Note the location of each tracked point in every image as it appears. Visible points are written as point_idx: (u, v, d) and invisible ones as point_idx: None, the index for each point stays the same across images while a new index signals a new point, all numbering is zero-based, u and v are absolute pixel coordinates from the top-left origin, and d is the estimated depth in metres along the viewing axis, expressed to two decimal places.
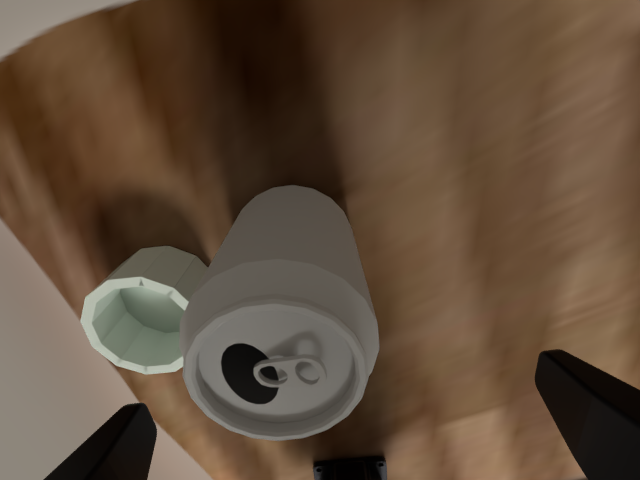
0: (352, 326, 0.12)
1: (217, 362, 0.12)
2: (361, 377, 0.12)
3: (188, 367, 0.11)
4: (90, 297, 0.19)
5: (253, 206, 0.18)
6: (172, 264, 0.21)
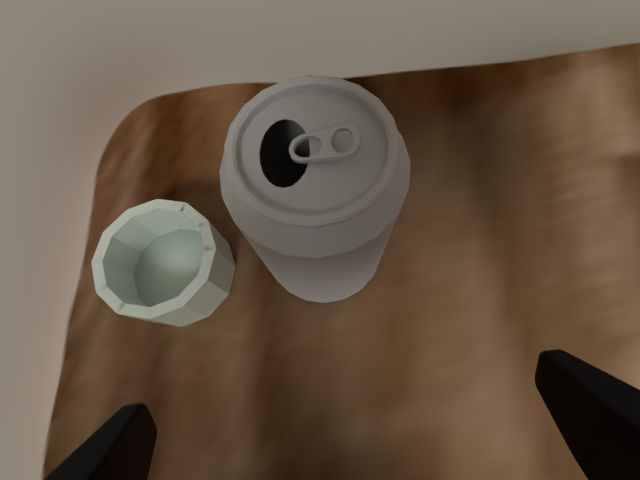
0: None
1: (262, 133, 0.13)
2: (392, 159, 0.12)
3: (240, 116, 0.13)
4: (130, 210, 0.20)
5: None
6: None
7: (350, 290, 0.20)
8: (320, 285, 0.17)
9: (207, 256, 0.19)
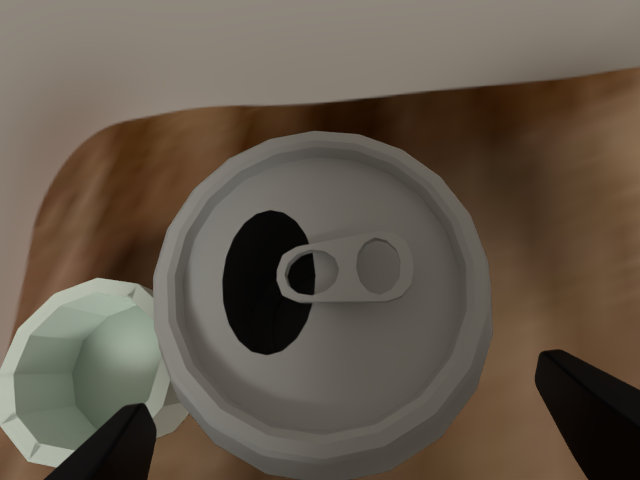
0: None
1: (228, 238, 0.07)
2: (477, 308, 0.06)
3: (187, 211, 0.07)
4: (59, 295, 0.15)
5: (305, 243, 0.16)
6: None
7: None
8: None
9: (164, 368, 0.13)
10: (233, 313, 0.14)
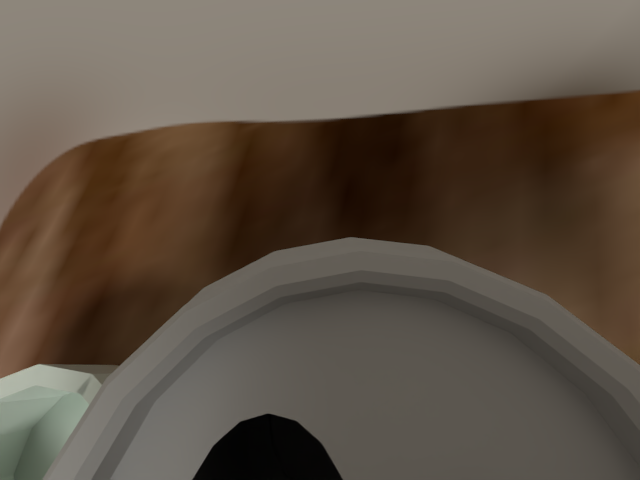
0: None
1: None
2: None
3: (85, 441, 0.03)
4: None
5: None
6: None
7: None
8: None
9: None
10: None
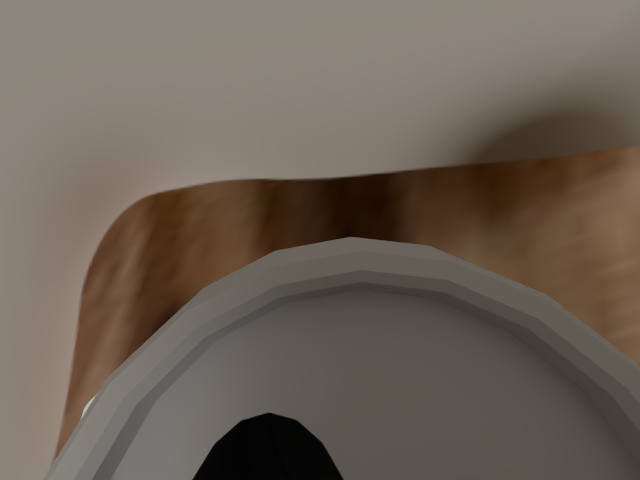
0: None
1: None
2: None
3: (86, 440, 0.03)
4: None
5: None
6: None
7: None
8: None
9: None
10: None
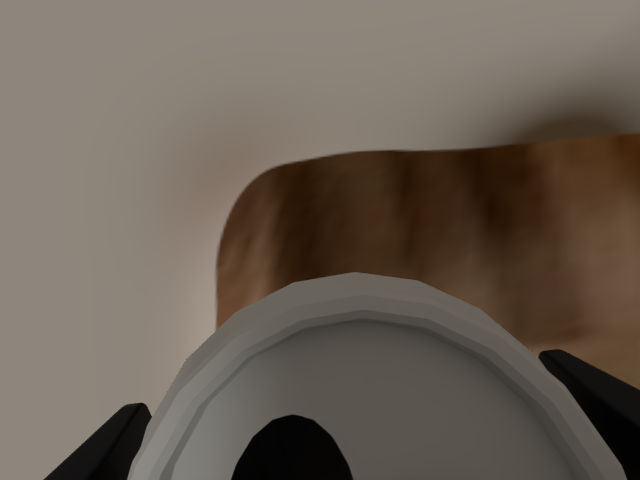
0: None
1: (228, 463, 0.05)
2: None
3: (164, 431, 0.04)
4: None
5: None
6: None
7: None
8: None
9: None
10: None
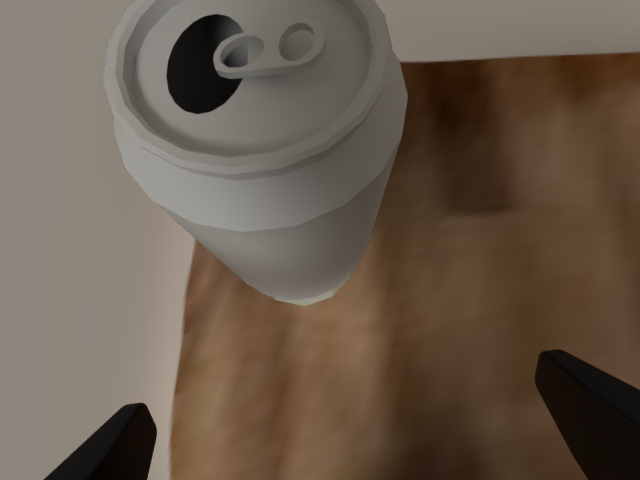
0: None
1: (177, 32, 0.08)
2: (375, 76, 0.07)
3: (142, 0, 0.08)
4: None
5: None
6: None
7: (321, 286, 0.15)
8: (273, 277, 0.12)
9: None
10: None
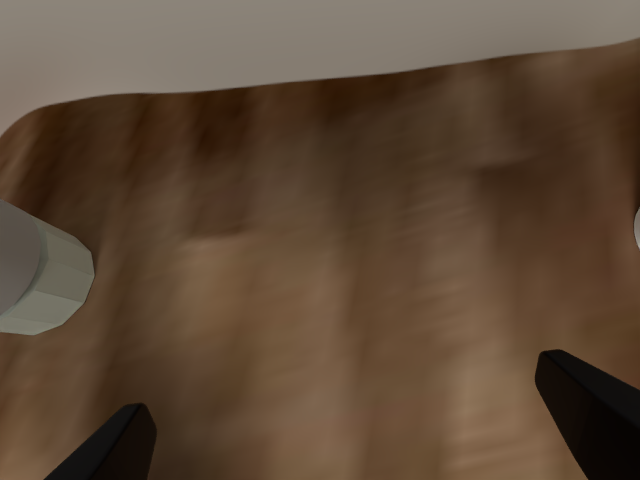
0: None
1: None
2: None
3: None
4: None
5: None
6: (64, 235, 0.23)
7: None
8: None
9: (39, 267, 0.20)
10: None
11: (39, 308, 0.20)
